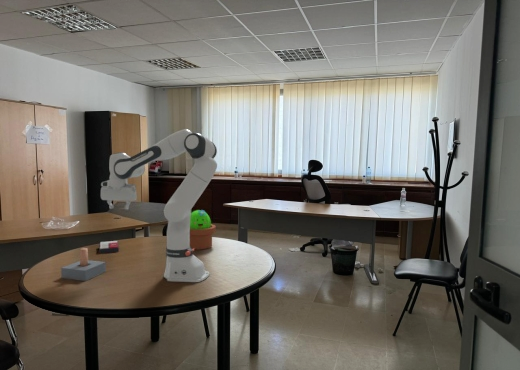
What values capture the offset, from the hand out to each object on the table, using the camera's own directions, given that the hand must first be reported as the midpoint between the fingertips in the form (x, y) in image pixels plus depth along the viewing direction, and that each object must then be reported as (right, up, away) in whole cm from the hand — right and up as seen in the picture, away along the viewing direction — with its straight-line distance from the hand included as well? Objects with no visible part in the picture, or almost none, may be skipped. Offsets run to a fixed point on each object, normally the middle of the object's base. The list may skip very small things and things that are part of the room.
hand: (119, 209), depth 182 cm
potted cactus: (+35, -28, +45) cm, 63 cm away
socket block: (-12, -32, -12) cm, 36 cm away
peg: (-12, -31, -12) cm, 35 cm away
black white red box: (-21, -29, +34) cm, 49 cm away
